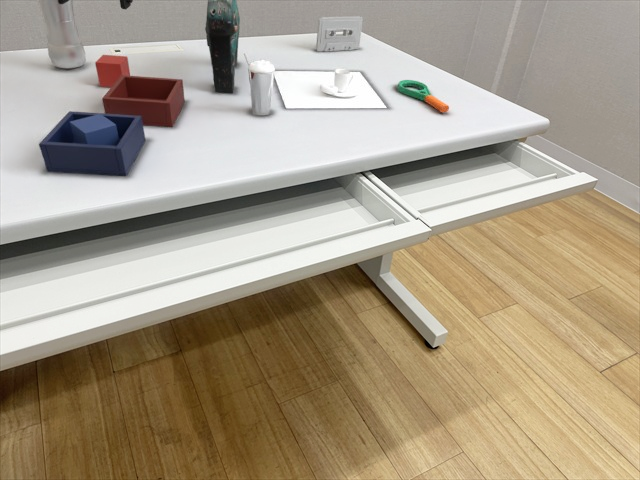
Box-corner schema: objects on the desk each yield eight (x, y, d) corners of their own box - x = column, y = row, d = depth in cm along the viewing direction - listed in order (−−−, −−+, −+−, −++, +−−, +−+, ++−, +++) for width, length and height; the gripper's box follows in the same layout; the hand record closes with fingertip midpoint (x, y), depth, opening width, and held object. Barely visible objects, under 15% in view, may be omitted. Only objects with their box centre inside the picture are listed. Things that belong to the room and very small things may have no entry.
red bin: (106, 123, 78) (101, 98, 75) (125, 97, 86) (121, 74, 83) (172, 127, 79) (169, 102, 76) (184, 101, 87) (182, 79, 84)
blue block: (91, 162, 67) (84, 133, 64) (76, 150, 69) (69, 121, 66) (121, 153, 69) (116, 124, 67) (106, 141, 72) (100, 113, 69)
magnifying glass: (392, 86, 102) (393, 78, 101) (415, 84, 104) (417, 76, 103) (431, 115, 92) (433, 106, 91) (456, 112, 94) (458, 104, 93)
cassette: (318, 52, 116) (320, 18, 112) (314, 49, 118) (317, 16, 113) (360, 49, 121) (364, 17, 116) (356, 47, 122) (360, 15, 118)
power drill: (237, 97, 91) (235, -20, 78) (203, 95, 90) (195, -24, 77) (244, 62, 106) (242, -40, 94) (214, 60, 105) (209, -43, 93)
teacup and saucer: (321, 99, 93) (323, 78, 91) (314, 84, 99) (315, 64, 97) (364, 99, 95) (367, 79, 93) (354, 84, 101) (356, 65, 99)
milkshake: (248, 105, 88) (248, 49, 82) (276, 109, 88) (278, 54, 81) (240, 114, 85) (239, 57, 78) (269, 119, 84) (270, 62, 78)
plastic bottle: (45, 66, 95) (13, -50, 82) (76, 58, 99) (50, -52, 87) (64, 74, 92) (34, -44, 80) (95, 66, 97) (71, -47, 84)
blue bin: (47, 171, 65) (38, 143, 62) (75, 136, 73) (69, 111, 71) (126, 175, 66) (121, 148, 63) (145, 140, 74) (141, 115, 71)
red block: (99, 86, 89) (94, 62, 86) (107, 78, 93) (102, 54, 90) (124, 88, 89) (120, 64, 87) (131, 79, 93) (127, 56, 90)
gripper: (-9, -136, 62) (29, 5, 73) (125, -122, 64) (144, 15, 74) (17, -136, 68) (49, -5, 79) (140, -123, 70) (155, 4, 80)
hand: (95, 4), depth 77 cm, fingers open, 9 cm apart
